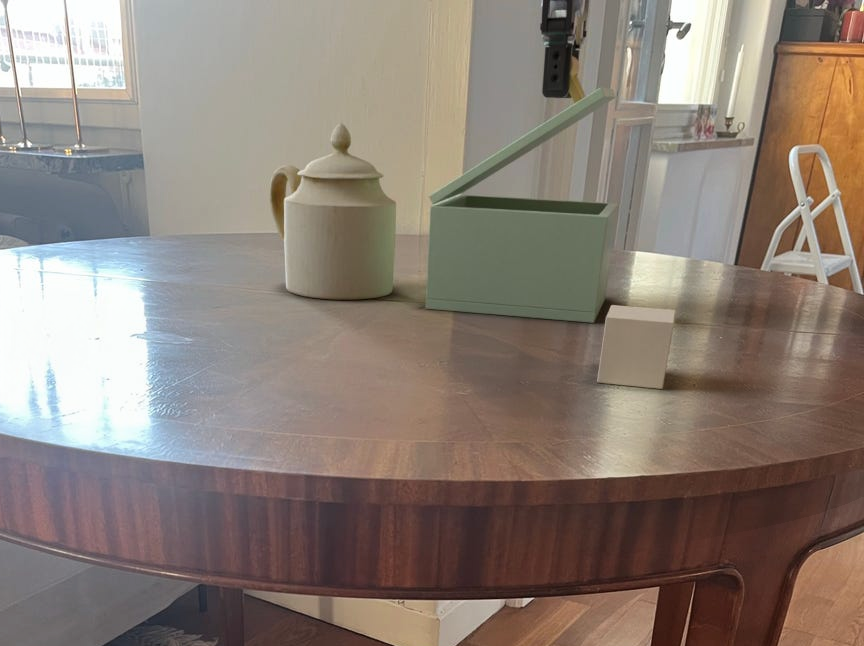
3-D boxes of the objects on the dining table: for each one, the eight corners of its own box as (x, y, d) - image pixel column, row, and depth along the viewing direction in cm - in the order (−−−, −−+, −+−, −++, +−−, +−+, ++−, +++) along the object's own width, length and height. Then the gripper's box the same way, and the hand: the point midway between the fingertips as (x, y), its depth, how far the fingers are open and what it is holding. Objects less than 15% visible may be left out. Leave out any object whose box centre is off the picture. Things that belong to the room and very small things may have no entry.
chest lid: (616, 97, 89) (593, 43, 87) (605, 96, 78) (579, 35, 76) (462, 193, 96) (439, 145, 95) (432, 204, 86) (405, 150, 84)
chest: (605, 298, 97) (618, 203, 93) (593, 323, 86) (608, 216, 82) (454, 286, 101) (460, 194, 96) (425, 308, 90) (430, 206, 86)
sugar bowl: (232, 291, 95) (223, 120, 88) (278, 274, 104) (274, 118, 97) (372, 304, 91) (375, 126, 84) (407, 286, 100) (413, 124, 93)
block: (664, 373, 71) (675, 309, 69) (662, 389, 67) (674, 322, 65) (602, 367, 72) (611, 304, 70) (596, 382, 68) (606, 316, 66)
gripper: (620, -172, 69) (594, 97, 78) (631, -132, 81) (608, 98, 90) (517, -165, 71) (503, 97, 79) (543, -127, 83) (529, 98, 91)
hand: (559, 96), depth 84 cm, fingers closed on chest lid, 5 cm apart
